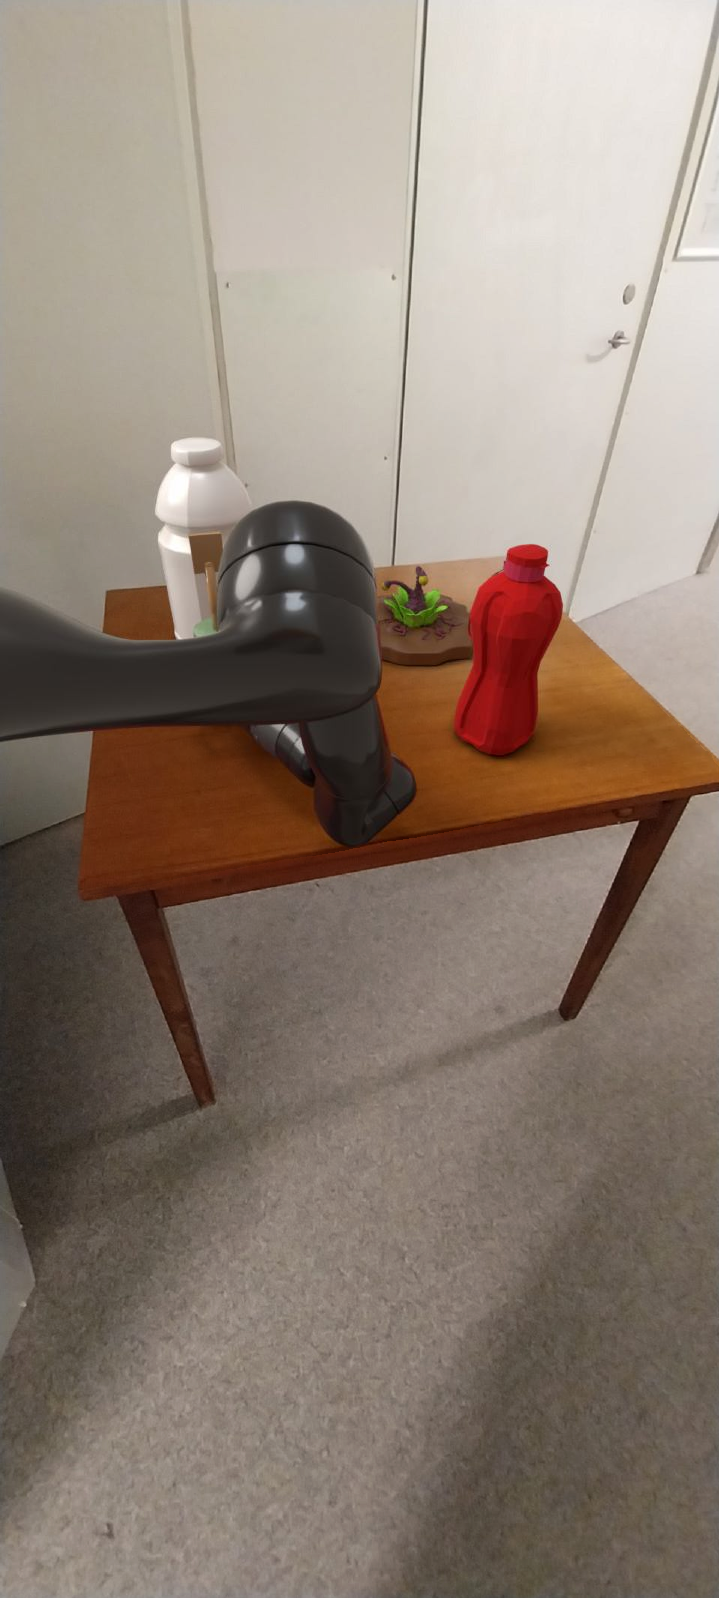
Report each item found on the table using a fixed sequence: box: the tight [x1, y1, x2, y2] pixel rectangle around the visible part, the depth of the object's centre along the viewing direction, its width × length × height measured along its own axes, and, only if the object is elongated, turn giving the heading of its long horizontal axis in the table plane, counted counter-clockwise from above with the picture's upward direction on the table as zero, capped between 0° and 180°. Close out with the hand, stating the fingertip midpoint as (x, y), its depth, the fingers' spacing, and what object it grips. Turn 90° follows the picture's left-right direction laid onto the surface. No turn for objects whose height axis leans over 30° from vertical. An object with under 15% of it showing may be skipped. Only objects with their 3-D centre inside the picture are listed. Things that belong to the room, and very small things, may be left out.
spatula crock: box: [188, 532, 223, 638], centre depth 82 cm, size 6×6×24 cm
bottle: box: [154, 436, 254, 640], centre depth 95 cm, size 14×14×28 cm
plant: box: [377, 565, 473, 666], centre depth 103 cm, size 20×20×11 cm
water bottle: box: [453, 543, 564, 756], centre depth 80 cm, size 9×11×25 cm
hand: (214, 658), depth 87 cm, fingers closed on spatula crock, 6 cm apart
